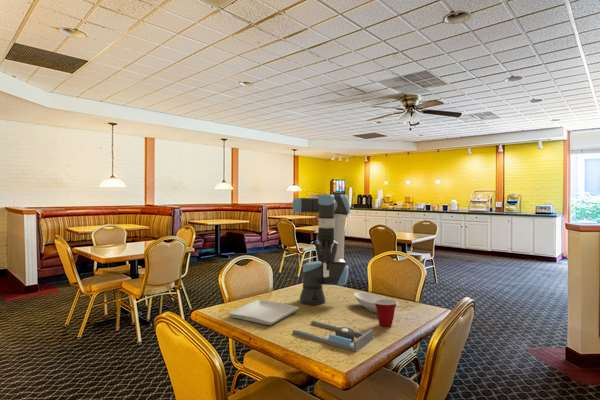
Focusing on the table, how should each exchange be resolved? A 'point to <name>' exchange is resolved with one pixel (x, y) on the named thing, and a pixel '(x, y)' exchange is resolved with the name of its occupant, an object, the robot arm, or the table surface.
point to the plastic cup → (385, 311)
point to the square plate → (263, 311)
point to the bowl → (369, 300)
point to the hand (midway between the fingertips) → (326, 276)
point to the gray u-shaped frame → (337, 340)
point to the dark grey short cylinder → (345, 333)
